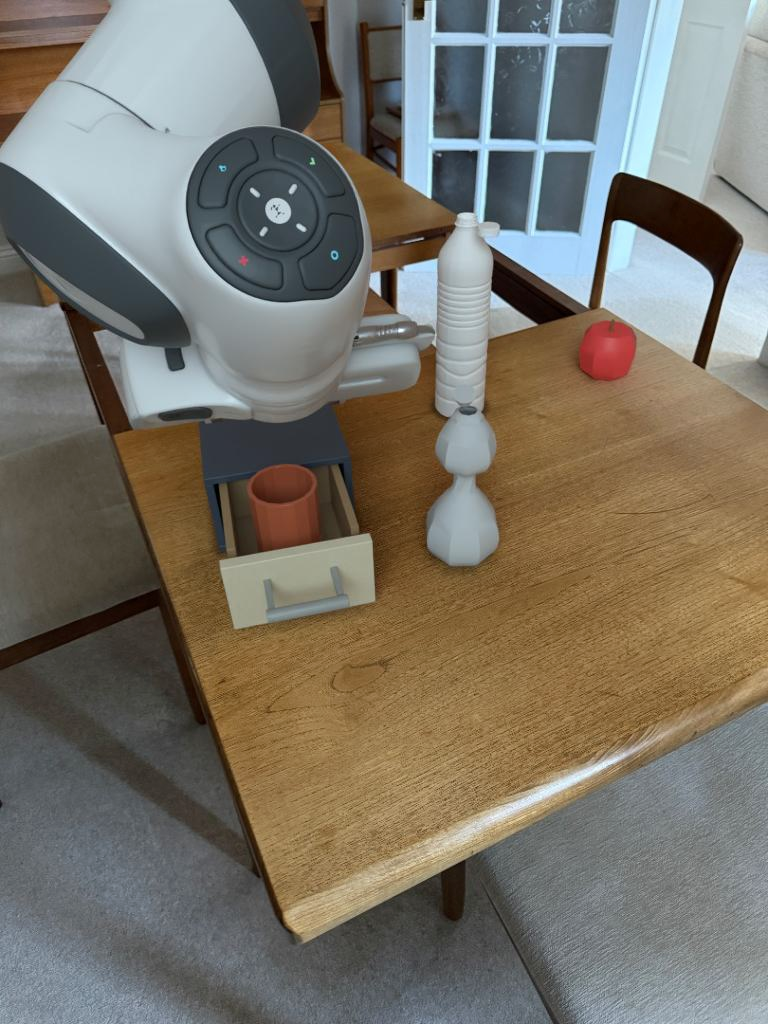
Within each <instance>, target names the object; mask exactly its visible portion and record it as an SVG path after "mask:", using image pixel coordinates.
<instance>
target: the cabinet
mask: <svg viewBox="0 0 768 1024" xmlns="http://www.w3.org/2000/svg"><path fill="white" fill-rule="evenodd" d="M224 420H225V421H222V422H216V423H210V424H205V421H200V422H197V424H198V434H199V444H200V445H199V446H200V456H201V467H202V476H203V477H202V478H203V483H204V488H205V491H206V496H207V497H206V498H207V501H208V506H209V510H210V513H211V518H212V522H213V526H214V531H215V535H216V540H217V544H218V548H219V552H220V553H223V552H227V550H226V542H225V533H224V525H223V516H222V508H221V499H220V491H219V483H225V482H231V481H237V480H243V479H249V478H251V477H253V476H254V475H255V474H256V473H257V472H259V471H260V470H263V469H265V468H267V467H270V466H274V465H280V464H295V465H299V466H302V467H305V468H308V469H310V468H316V467H322V466H328V465H334V464H338V466H339V469H340V472H341V475H342V478H343V480H344V483H345V486H346V489H347V492H348V495H349V498H350V501H351V504H352V507H353V510H354V513H355V514H356V509H355V496H354V483H353V481H354V479H353V466H352V456H351V452H350V450H349V447H348V444H347V441H346V439H345V436H344V433H343V431H342V428H341V425H340V422H339V419H338V417H337V414H336V411H335V408H334V405H327V404H325V405H324V406H322V407H321V408H320V409H319V410H317V411H316V412H314V413H312V414H310V415H309V416H307V417H304V418H302V419H298V420H295V421H290V422H283V423H270V422H263V421H258V420H255V419H252V418H251V419H248V420H237V419H227V418H224Z"/></svg>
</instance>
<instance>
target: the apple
mask: <svg viewBox="0 0 768 1024" xmlns="http://www.w3.org/2000/svg"><path fill="white" fill-rule="evenodd" d="M578 351H579V363H580V364H579V369H581V370H582V371H584V372H585V373H587V374H588V375H589V376H590V377H592V378H593V380H596V381H597V380H598V381H607V382H609V381H612V380H617V379H620V378H622V377H625V376H627V375H628V374H629V371H630V368H631V366H632V364H633V362H634V359H635V358H636V357H635V356H636V352H637V336H636V333H635V331H634V329H633V328H632V327H631V326H629V325H627V324H625V323H624V322H623V321H615V319H611V320H601V321H597V322H595V323H594V322H593V323H592V324H591V325H590V326H589V327H587V329H586V330H585V332H584V335H583V337H582V339H581V343H580V346H579V349H578Z"/></svg>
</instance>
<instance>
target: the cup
mask: <svg viewBox="0 0 768 1024" xmlns="http://www.w3.org/2000/svg"><path fill="white" fill-rule="evenodd" d="M247 490H248V496H249V502H250V507H251V512H252V518H253V523H254V529H255V534H256V539H257V545H258V550H259V553H262V552H267V551H273V550H278V549H284V548H289V547H295V546H300V545H306V544H311V543H317V542H322V541H324V540H323V531H322V521H321V512H320V503H319V494H318V485H317V480H316V476H315V474H314V473H312V472H311V471H310V470H309V469H308V468H305V467H302V466H299V465H295V464H280V465H274V466H270V467H267V468H265V469H263V470H260V471H259V472H257V473H256V474H255V475H254V476H253V477H251V479H250V481H249V483H248V485H247Z"/></svg>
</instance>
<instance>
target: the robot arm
mask: <svg viewBox="0 0 768 1024" xmlns="http://www.w3.org/2000/svg"><path fill="white" fill-rule="evenodd" d="M106 1H107V3H108V4H109V6H110V8H109V11H108V12H107V14H106V15H105V16H104V17H103V19H102V20H100V22H99V24H98V25H97V26H96V28H95V29H94V30H93V31H92V32H91V34H90V35H89V36H88V37H87V39H86V40H85V42H84V43H83V44H82V46H81V47H80V48H79V49H78V51H77V52H76V53H75V54H74V56H73V57H72V58H71V60H70V61H69V62H68V63H67V64H66V66H65V67H64V69H63V70H62V71H61V72H60V73H59V75H58V76H57V77H56V78H55V80H54V81H51V82H50V83H49V84H48V85H47V86H46V87H45V88H44V90H43V91H42V93H41V94H40V95H39V96H38V97H37V99H36V100H35V101H34V102H33V103H32V105H31V106H30V107H29V109H28V110H27V111H26V113H24V116H22V118H21V119H20V120H19V122H18V123H17V124H16V126H15V127H14V128H13V130H12V131H11V132H10V134H9V135H8V136H7V138H6V139H5V140H4V142H3V143H2V144H1V146H0V226H1V228H2V231H3V233H4V236H5V238H6V241H7V242H8V243H9V245H10V246H11V247H12V249H13V250H14V251H15V252H16V253H17V255H18V256H19V258H20V259H22V260H23V262H24V264H26V266H28V267H29V269H30V270H31V271H32V272H33V273H34V274H35V275H36V276H37V277H38V278H39V279H40V280H41V281H42V282H43V283H44V284H45V285H46V286H47V287H48V288H49V289H50V290H51V291H52V292H53V293H54V294H55V295H56V296H58V297H59V298H60V299H61V300H62V301H64V302H65V303H67V305H69V306H70V307H71V308H73V309H74V310H76V311H77V312H78V313H80V315H83V316H84V317H85V318H87V319H88V320H90V321H91V322H93V323H95V324H96V325H98V326H100V327H101V328H103V329H105V330H106V331H108V332H110V333H112V334H114V335H116V336H118V337H120V338H121V339H122V345H121V346H120V349H119V352H118V365H119V371H120V377H121V384H122V391H123V397H124V402H125V403H124V404H125V409H126V414H127V418H128V422H129V425H130V426H131V427H132V429H134V430H143V431H144V430H145V431H146V430H147V431H148V430H154V429H159V428H160V429H161V428H167V427H172V426H178V425H180V426H181V425H187V424H193V423H198V422H200V421H205V424H210V423H216V422H222V421H225V420H224V418H227V419H237V420H248V419H251V418H252V419H255V420H258V421H263V422H270V423H283V422H290V421H295V420H298V419H302V418H304V417H307V416H309V415H310V414H312V413H314V412H316V411H317V410H319V409H320V408H321V407H322V406H324V405H325V404H327V405H332V406H334V405H339V404H340V405H341V404H346V402H347V400H350V399H351V400H352V399H357V398H365V397H372V396H377V395H378V396H379V395H383V394H391V393H398V392H402V391H405V390H408V389H410V388H412V387H414V386H415V385H416V384H417V382H418V380H419V377H420V374H421V368H422V364H421V359H420V352H423V351H424V350H426V349H427V348H429V347H430V346H431V345H432V343H433V342H434V340H435V339H436V338H435V337H436V336H435V334H436V329H435V328H434V327H433V325H432V324H430V323H429V324H420V325H418V323H417V322H416V321H414V320H412V319H411V318H410V317H409V316H408V315H406V314H402V313H386V314H385V313H384V314H375V315H370V316H364V312H365V308H366V303H367V300H368V295H369V290H370V283H371V275H372V265H373V263H372V261H373V244H372V243H373V242H372V235H371V228H370V225H369V221H368V217H367V213H366V209H365V206H364V204H363V201H362V199H361V196H360V194H359V192H358V189H357V188H356V186H355V184H354V182H353V180H352V178H351V177H350V175H349V173H348V171H347V170H346V169H345V167H344V166H343V164H342V163H341V162H340V161H339V160H338V159H337V158H336V157H335V155H333V154H332V153H331V152H330V151H329V150H328V149H327V148H326V147H324V146H323V145H322V144H321V143H319V142H318V141H316V140H315V139H313V138H311V137H309V136H308V135H305V134H303V132H304V131H305V130H306V129H307V128H308V127H309V125H310V124H311V123H312V122H313V121H314V120H315V118H316V116H317V114H318V113H319V109H320V104H321V95H322V93H321V90H322V89H321V71H320V61H319V54H318V49H317V43H316V39H315V35H314V31H313V28H312V24H311V21H310V18H309V15H308V13H307V10H306V8H305V6H304V3H303V2H302V0H106Z"/></svg>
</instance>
